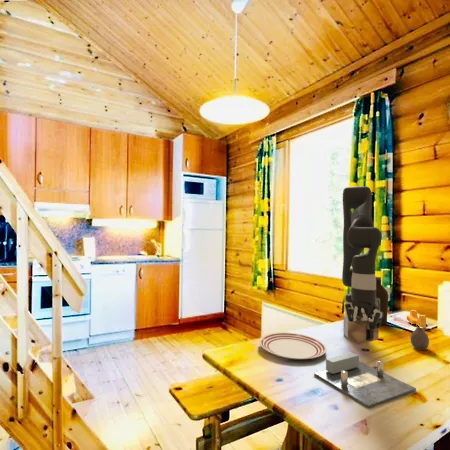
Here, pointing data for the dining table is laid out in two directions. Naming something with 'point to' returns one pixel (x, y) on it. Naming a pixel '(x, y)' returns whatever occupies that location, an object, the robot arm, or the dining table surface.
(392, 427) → the dining table surface
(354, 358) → the bar
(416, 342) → the vase
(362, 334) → the block
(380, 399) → the housing base
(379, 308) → the olive oil
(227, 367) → the dining table surface
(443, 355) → the dining table surface
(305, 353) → the dinner plate
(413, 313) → the pipe clamp
